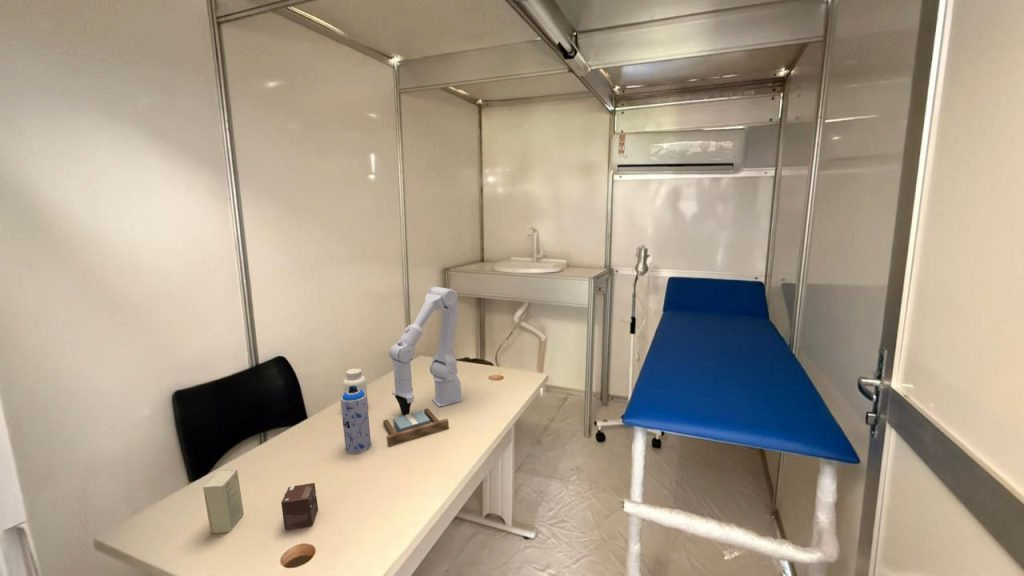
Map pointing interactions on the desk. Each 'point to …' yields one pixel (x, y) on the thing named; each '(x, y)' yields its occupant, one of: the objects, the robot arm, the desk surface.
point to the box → (299, 506)
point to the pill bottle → (355, 380)
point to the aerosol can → (355, 421)
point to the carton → (410, 421)
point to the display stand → (415, 429)
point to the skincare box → (223, 501)
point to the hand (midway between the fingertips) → (405, 414)
